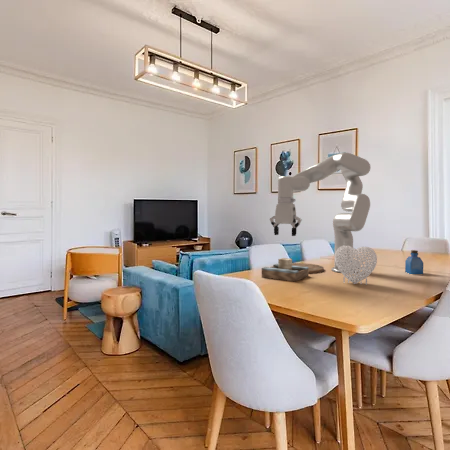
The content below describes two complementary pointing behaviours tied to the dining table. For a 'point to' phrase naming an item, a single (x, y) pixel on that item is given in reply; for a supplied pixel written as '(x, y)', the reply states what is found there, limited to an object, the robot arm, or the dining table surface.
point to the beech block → (285, 263)
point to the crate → (285, 273)
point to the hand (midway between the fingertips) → (284, 235)
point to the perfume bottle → (414, 263)
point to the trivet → (310, 267)
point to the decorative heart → (355, 262)
